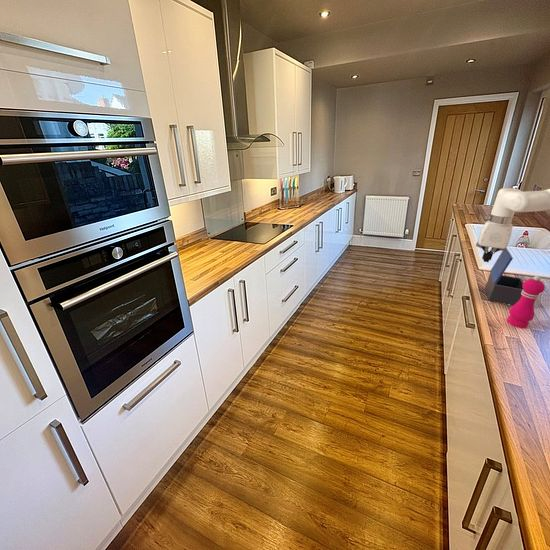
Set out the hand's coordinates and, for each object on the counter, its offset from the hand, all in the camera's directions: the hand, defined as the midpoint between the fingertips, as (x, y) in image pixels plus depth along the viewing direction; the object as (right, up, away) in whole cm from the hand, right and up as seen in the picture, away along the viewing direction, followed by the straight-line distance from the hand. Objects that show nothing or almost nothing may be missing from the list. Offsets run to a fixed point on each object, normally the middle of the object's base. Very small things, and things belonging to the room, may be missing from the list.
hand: (485, 260), depth 126 cm
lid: (+5, -2, -2) cm, 6 cm away
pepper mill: (0, -25, -16) cm, 30 cm away
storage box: (+9, -16, +2) cm, 19 cm away
